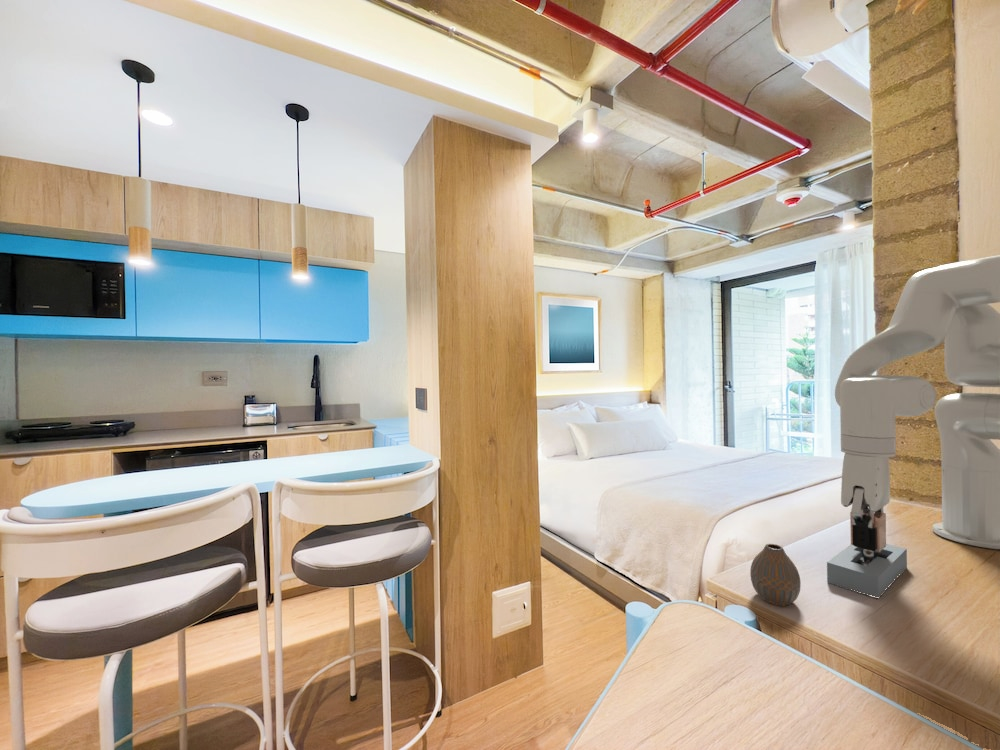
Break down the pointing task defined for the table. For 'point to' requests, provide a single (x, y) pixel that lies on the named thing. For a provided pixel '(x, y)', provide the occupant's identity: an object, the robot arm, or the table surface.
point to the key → (880, 537)
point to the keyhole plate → (867, 569)
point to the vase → (775, 576)
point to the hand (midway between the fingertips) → (868, 543)
